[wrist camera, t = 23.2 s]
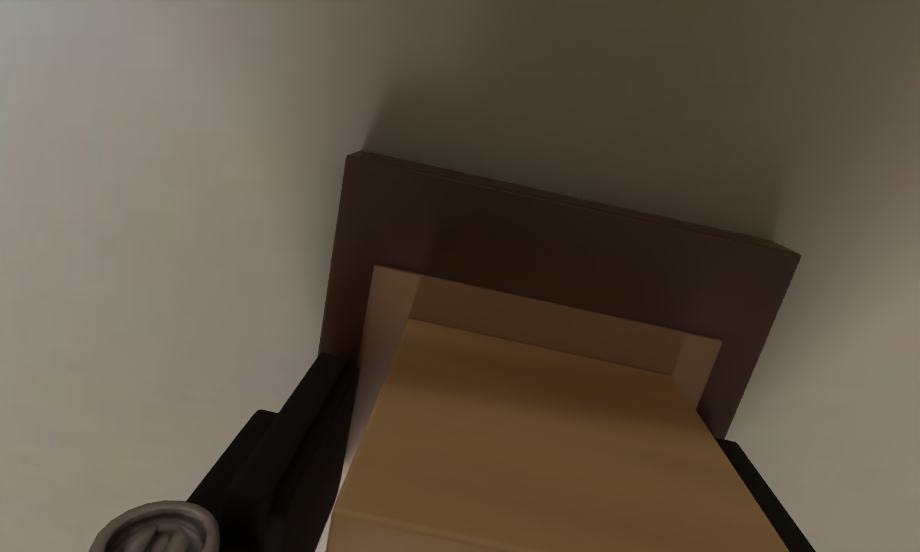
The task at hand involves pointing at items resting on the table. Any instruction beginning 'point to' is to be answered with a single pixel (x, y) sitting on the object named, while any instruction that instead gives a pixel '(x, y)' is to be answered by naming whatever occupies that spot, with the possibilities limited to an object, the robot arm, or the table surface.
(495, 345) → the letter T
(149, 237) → the table surface
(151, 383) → the table surface
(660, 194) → the table surface
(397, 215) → the dark brown wooden board
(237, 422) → the table surface
